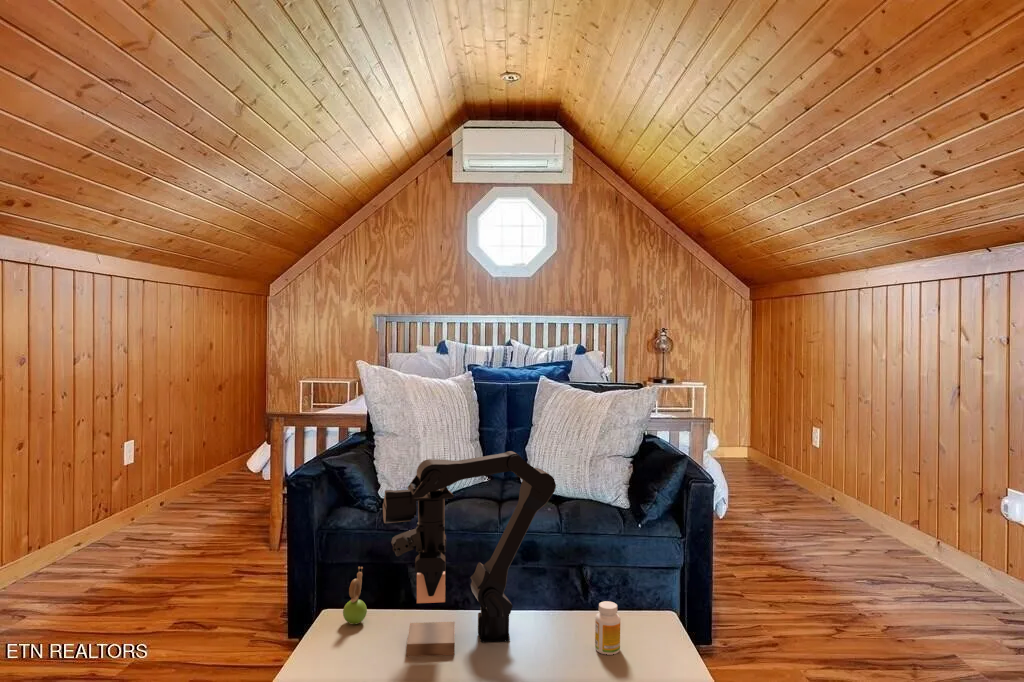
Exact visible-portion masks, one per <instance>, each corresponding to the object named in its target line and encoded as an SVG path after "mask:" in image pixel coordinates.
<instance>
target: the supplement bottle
mask: <svg viewBox="0 0 1024 682" xmlns="http://www.w3.org/2000/svg"><path fill="white" fill-rule="evenodd" d="M594 618H595V619H594V620H595V621H594V622H595V625H594V626H595V627H594V629H595V630H594V631H595V632H594V648H595V651H597V652H598V653H600V654H602V655H606V654H607V656H610V655H611V656H613V654H614V655H617V654H618V653H620V651H621V616H620V615H619V614H618V604H617V603H615V602H613V601H610V600H609V601H608V600H607V601H601V602H599V603H598V612H597V613H596V614H595V617H594Z"/></svg>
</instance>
